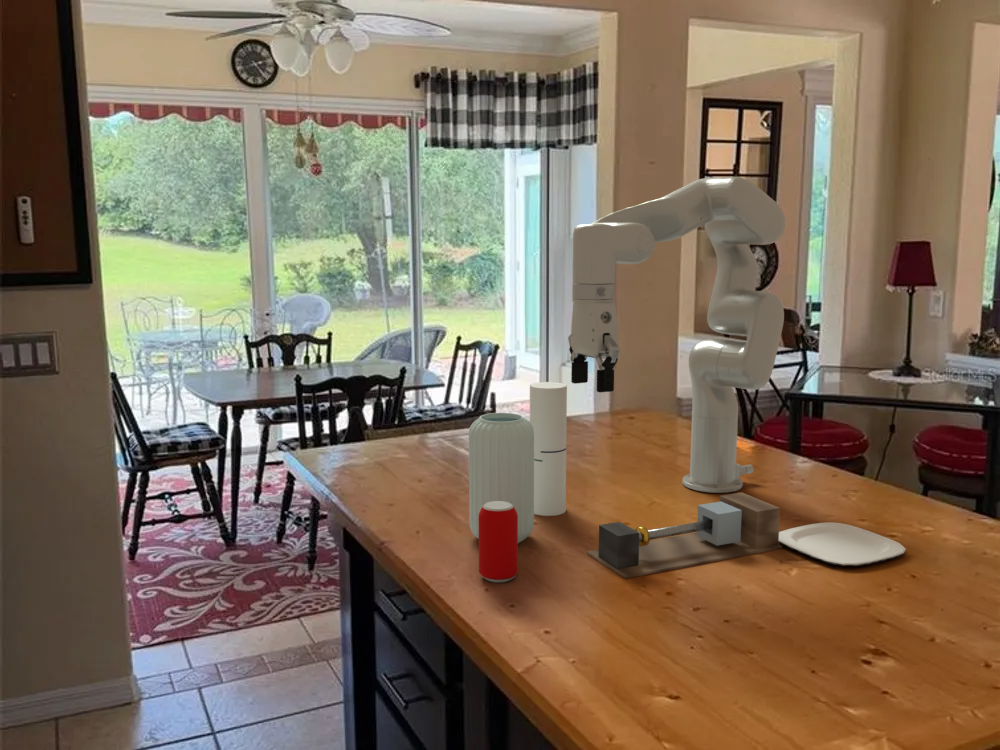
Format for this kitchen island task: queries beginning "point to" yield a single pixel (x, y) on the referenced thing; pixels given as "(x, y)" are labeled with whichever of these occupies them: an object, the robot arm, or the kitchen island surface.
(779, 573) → the kitchen island surface
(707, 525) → the metal rod
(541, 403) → the cylindrical container
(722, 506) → the grey sliding block
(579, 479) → the kitchen island surface
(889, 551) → the plate
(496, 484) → the vase
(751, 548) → the slide base
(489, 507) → the beverage can
